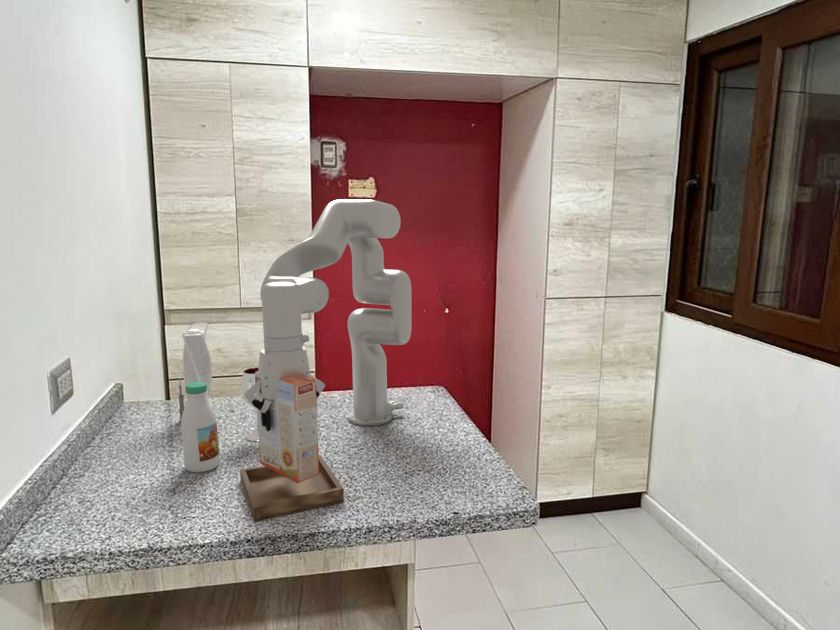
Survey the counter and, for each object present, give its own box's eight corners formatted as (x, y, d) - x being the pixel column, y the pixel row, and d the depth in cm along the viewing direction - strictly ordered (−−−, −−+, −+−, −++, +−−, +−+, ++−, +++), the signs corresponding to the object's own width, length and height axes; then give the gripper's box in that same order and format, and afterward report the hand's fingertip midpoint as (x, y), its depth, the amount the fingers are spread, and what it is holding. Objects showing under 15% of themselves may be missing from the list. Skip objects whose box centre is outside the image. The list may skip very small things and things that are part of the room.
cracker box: (321, 475, 122) (317, 378, 118) (297, 485, 118) (292, 384, 114) (282, 455, 132) (278, 364, 128) (258, 464, 127) (253, 370, 123)
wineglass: (279, 431, 159) (276, 366, 155) (268, 443, 151) (264, 375, 147) (249, 430, 159) (245, 365, 156) (237, 442, 151) (233, 374, 148)
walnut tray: (320, 466, 138) (320, 454, 137) (343, 502, 122) (343, 488, 121) (240, 482, 130) (240, 469, 130) (254, 522, 114) (253, 507, 114)
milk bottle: (186, 476, 133) (179, 391, 129) (183, 463, 140) (175, 382, 136) (222, 469, 137) (216, 386, 133) (217, 456, 143) (211, 377, 139)
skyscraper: (205, 413, 172) (197, 319, 167) (222, 419, 168) (215, 323, 162) (178, 422, 166) (170, 325, 160) (195, 429, 161) (187, 328, 156)
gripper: (320, 335, 126) (323, 413, 130) (236, 343, 119) (241, 426, 123) (330, 342, 120) (332, 425, 123) (241, 352, 113) (247, 439, 116)
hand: (287, 425), depth 123 cm, fingers closed on cracker box, 7 cm apart
